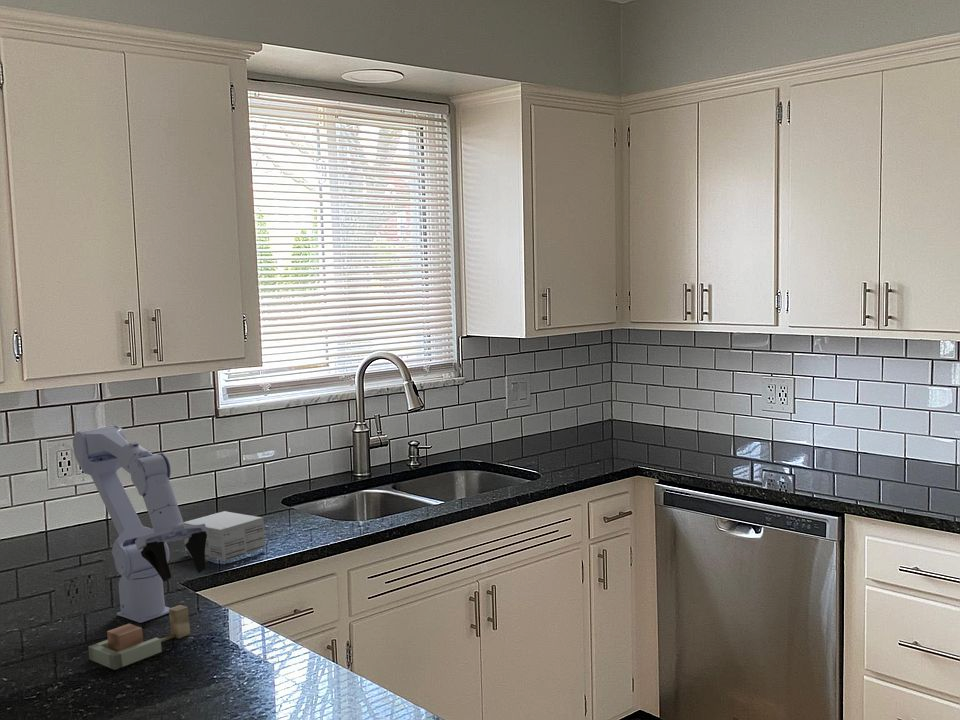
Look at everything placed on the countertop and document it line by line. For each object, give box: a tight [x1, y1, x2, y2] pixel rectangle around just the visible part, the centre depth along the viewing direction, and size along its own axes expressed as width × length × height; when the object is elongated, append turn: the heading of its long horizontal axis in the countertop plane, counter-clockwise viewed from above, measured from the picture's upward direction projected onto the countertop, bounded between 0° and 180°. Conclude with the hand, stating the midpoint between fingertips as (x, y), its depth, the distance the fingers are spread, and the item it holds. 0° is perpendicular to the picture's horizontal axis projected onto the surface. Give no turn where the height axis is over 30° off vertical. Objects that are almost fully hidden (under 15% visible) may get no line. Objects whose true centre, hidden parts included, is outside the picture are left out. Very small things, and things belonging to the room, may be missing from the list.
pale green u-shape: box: [88, 637, 163, 671], centre depth 175 cm, size 9×10×2 cm
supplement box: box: [183, 510, 267, 561], centre depth 239 cm, size 17×13×9 cm
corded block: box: [106, 604, 191, 652], centre depth 179 cm, size 4×15×6 cm, turn 141°
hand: (185, 575), depth 182 cm, fingers open, 7 cm apart
